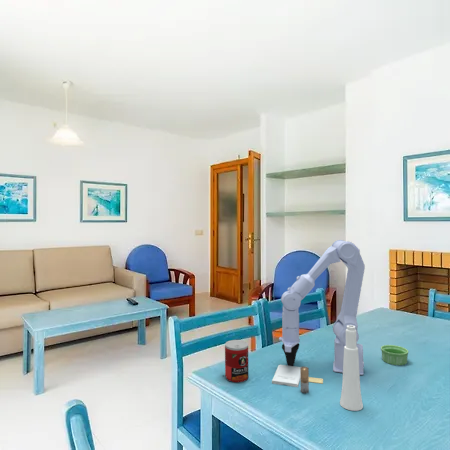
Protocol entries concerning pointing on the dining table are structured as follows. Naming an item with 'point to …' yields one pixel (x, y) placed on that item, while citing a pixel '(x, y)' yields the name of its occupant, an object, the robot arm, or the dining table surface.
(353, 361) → the cosmetic bottle
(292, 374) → the external hard drive
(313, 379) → the plate
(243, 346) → the canned food
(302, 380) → the photo-textured cylinder
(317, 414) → the dining table surface
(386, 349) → the ramekin
